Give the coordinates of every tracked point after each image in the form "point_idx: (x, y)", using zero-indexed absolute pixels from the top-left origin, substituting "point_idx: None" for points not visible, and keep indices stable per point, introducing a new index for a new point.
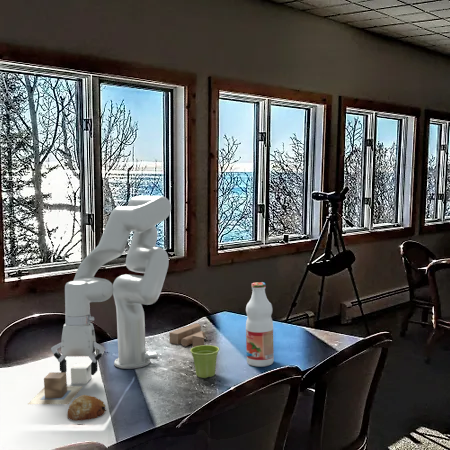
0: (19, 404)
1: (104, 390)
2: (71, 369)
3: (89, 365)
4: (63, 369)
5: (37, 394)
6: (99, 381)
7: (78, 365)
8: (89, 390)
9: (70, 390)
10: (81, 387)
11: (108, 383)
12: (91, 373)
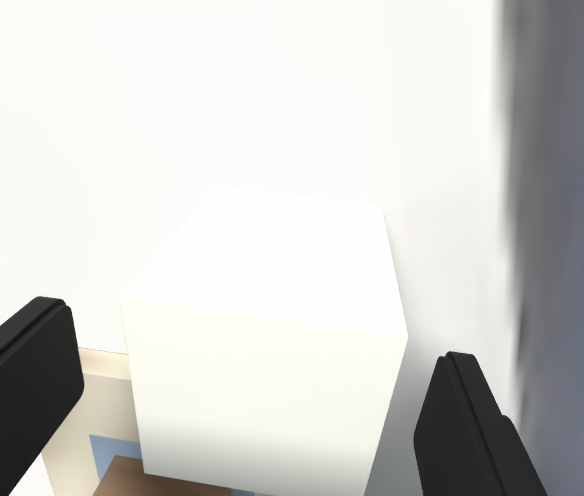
0: (14, 488)
1: (510, 419)
2: (158, 467)
3: (389, 400)
4: (49, 436)
5: (48, 469)
6: (469, 216)
7: (204, 383)
8: None
9: None
10: None
11: (566, 285)
12: (419, 454)
